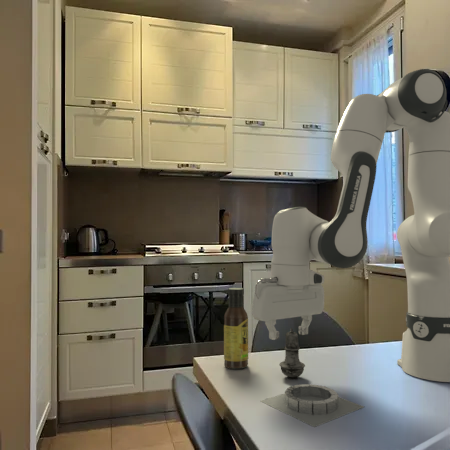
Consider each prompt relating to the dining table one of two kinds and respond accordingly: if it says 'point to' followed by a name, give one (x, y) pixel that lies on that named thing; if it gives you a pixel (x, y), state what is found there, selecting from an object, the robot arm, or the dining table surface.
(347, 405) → the board
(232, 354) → the sauce bottle
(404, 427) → the dining table surface
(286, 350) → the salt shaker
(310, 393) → the ring
